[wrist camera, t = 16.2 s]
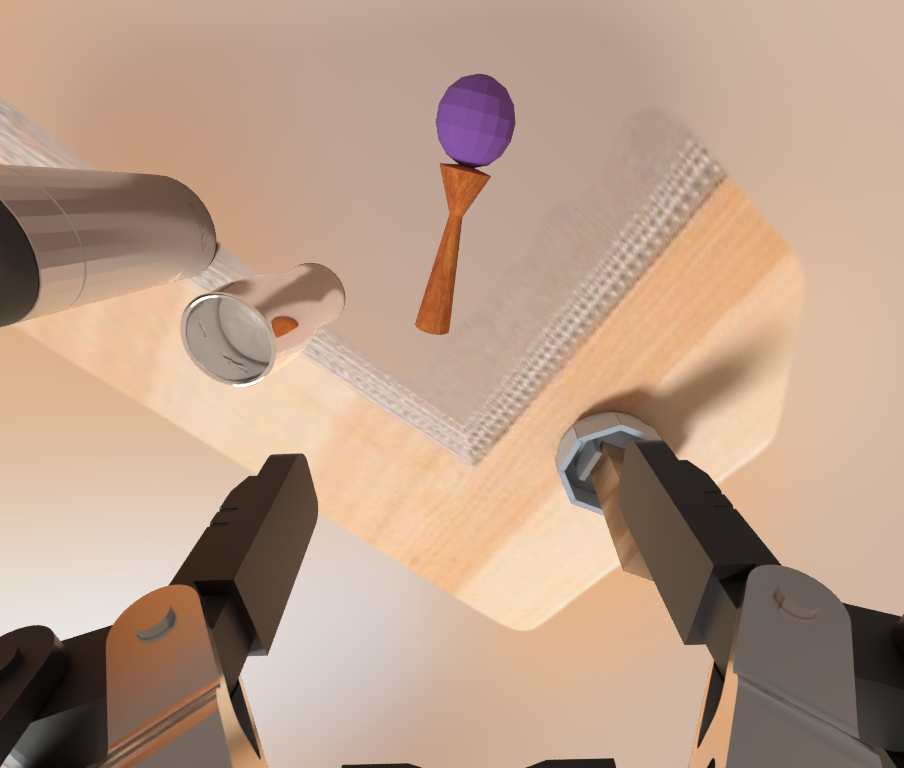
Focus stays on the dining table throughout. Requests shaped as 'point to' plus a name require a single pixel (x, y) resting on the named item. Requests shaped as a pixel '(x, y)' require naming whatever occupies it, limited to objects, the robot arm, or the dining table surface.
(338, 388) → the dining table surface
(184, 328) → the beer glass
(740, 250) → the dining table surface
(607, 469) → the wooden block
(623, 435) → the blue-grey octagonal holder
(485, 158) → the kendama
